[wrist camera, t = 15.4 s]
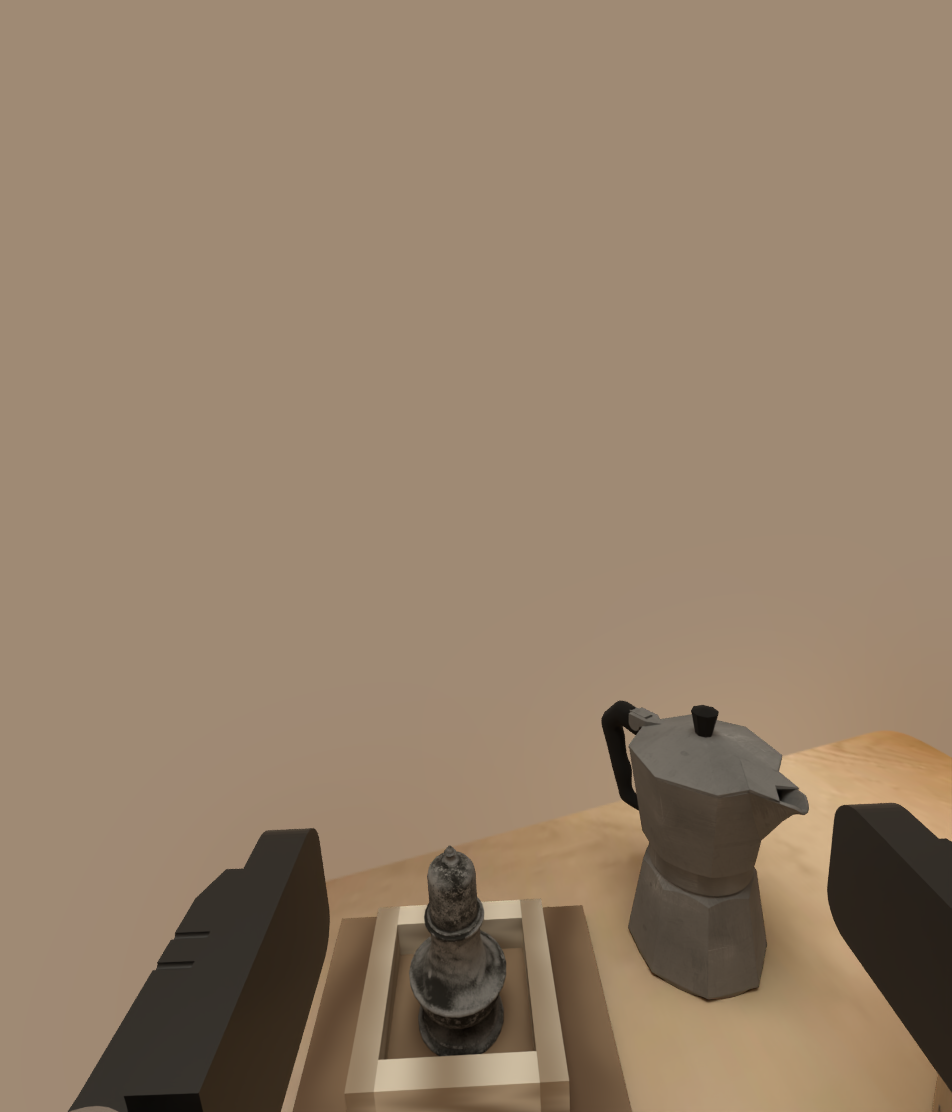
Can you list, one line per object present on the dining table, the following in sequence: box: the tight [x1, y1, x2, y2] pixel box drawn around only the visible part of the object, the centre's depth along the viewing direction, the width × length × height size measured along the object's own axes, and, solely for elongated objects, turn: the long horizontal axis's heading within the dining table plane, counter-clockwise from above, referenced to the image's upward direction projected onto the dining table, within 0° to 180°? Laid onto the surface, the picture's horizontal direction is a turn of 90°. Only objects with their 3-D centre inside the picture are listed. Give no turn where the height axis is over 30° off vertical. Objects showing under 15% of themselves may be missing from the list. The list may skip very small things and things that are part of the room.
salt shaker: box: [409, 846, 506, 1056], centre depth 34 cm, size 6×6×12 cm
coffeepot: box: [602, 701, 809, 999], centre depth 39 cm, size 15×9×18 cm, turn 33°
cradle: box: [293, 899, 632, 1112], centre depth 35 cm, size 18×15×4 cm
